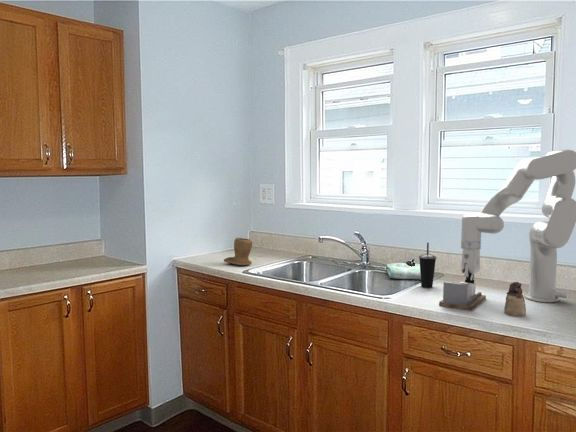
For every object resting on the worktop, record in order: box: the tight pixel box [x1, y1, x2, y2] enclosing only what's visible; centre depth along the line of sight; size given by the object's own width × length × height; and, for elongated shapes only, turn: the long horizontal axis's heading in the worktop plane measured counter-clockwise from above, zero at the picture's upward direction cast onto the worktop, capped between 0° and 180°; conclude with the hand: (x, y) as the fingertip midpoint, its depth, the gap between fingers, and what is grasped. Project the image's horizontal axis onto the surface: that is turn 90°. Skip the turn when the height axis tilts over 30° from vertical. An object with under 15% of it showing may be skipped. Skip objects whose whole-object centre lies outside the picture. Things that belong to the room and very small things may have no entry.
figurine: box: [503, 281, 527, 318], centre depth 176 cm, size 7×7×12 cm
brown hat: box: [223, 237, 253, 266], centre depth 269 cm, size 15×12×15 cm
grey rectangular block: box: [442, 280, 470, 306], centre depth 185 cm, size 9×3×8 cm, turn 53°
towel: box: [386, 262, 421, 281], centre depth 240 cm, size 18×21×5 cm
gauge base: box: [438, 291, 487, 312], centre depth 192 cm, size 12×20×3 cm, turn 143°
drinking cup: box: [418, 242, 437, 289], centre depth 217 cm, size 8×8×20 cm
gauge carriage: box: [459, 281, 477, 298], centre depth 193 cm, size 9×10×5 cm
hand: (469, 289), depth 198 cm, fingers closed
